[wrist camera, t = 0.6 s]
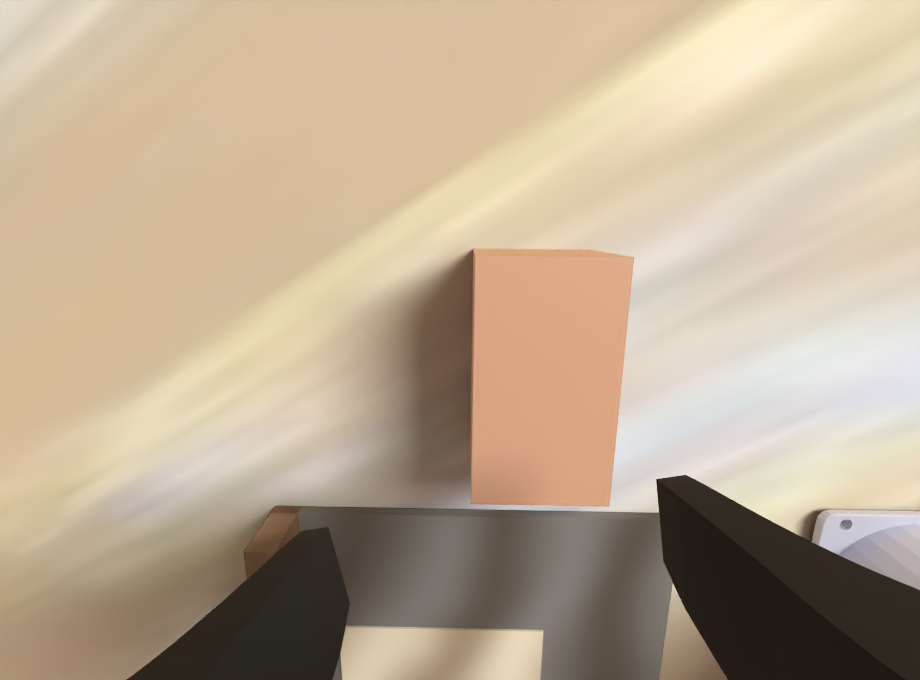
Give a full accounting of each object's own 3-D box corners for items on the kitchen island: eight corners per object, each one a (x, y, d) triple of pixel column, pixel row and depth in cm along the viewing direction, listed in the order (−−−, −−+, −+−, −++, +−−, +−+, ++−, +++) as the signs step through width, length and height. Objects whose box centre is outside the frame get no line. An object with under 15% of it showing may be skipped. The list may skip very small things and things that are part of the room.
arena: (676, 513, 20) (711, 561, 17) (641, 764, 24) (665, 839, 21) (275, 505, 20) (243, 552, 18) (300, 755, 24) (277, 827, 21)
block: (588, 249, 18) (634, 257, 13) (574, 437, 20) (609, 506, 15) (473, 248, 18) (475, 256, 13) (470, 435, 20) (470, 504, 15)
